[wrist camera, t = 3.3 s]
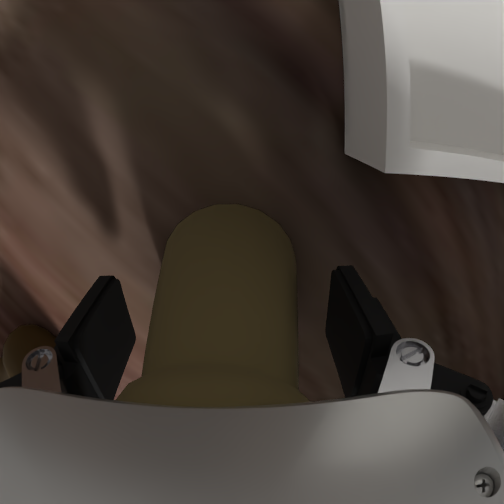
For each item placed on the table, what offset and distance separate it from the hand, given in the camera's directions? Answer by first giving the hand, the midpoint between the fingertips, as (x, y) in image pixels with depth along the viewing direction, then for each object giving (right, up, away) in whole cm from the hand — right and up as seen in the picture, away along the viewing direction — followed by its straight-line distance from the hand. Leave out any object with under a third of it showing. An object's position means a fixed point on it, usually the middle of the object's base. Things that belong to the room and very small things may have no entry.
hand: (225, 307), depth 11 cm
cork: (0, +1, +3) cm, 3 cm away
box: (+11, +13, -2) cm, 17 cm away
